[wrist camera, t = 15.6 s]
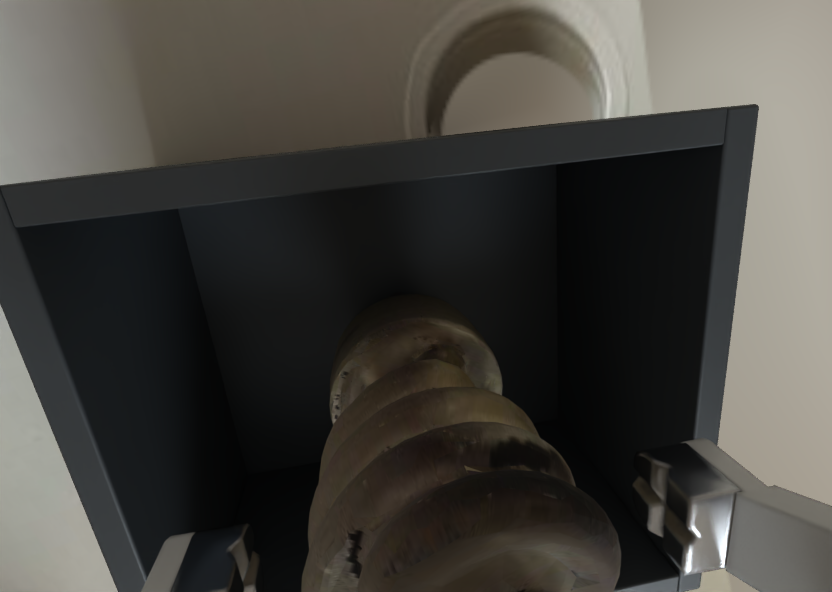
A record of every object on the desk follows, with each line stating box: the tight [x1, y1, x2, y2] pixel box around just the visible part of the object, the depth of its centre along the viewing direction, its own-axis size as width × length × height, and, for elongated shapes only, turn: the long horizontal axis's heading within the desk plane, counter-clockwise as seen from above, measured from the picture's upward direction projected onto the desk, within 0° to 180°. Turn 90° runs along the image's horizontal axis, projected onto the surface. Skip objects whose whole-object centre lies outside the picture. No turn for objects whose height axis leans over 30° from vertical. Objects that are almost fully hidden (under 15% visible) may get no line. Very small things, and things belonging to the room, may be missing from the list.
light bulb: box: [301, 292, 621, 592], centre depth 13 cm, size 6×6×15 cm
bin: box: [0, 104, 759, 592], centre depth 17 cm, size 17×15×10 cm
